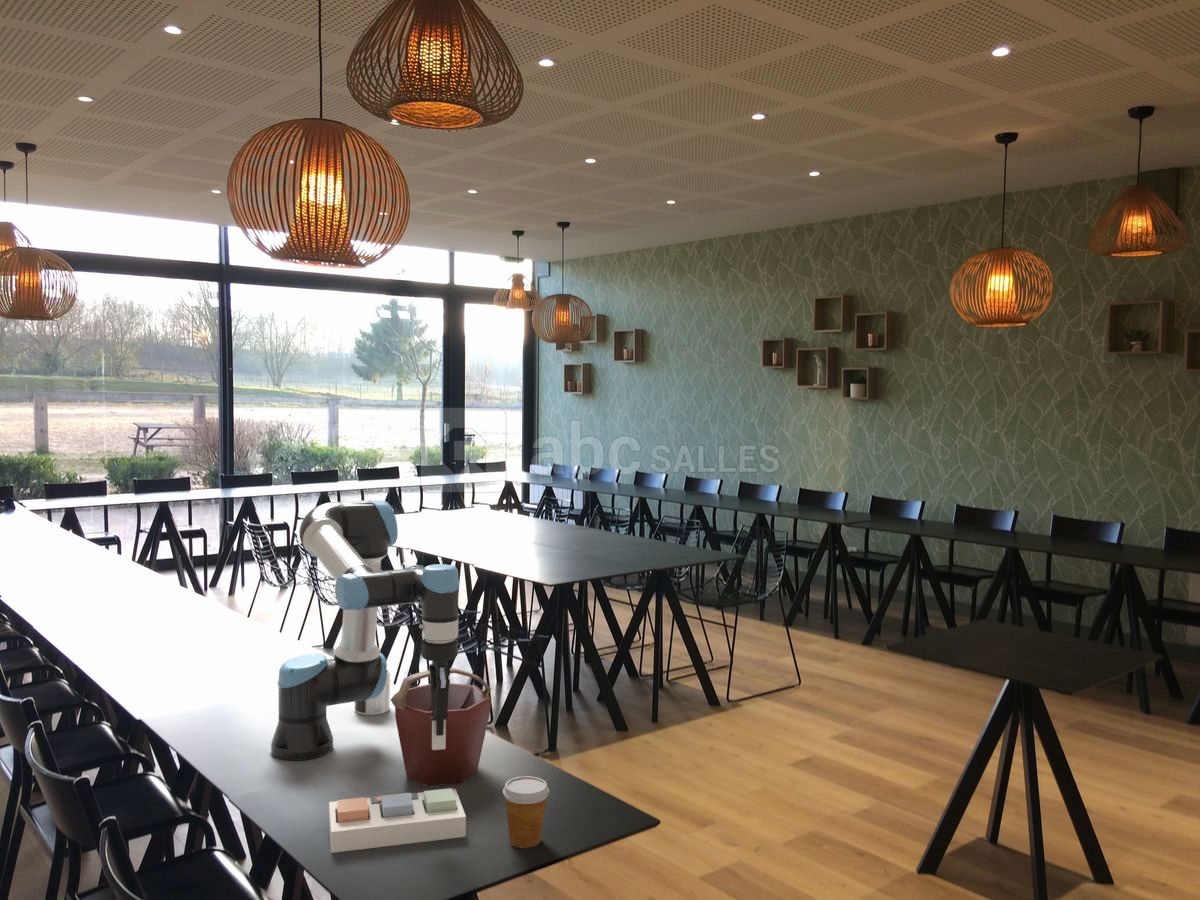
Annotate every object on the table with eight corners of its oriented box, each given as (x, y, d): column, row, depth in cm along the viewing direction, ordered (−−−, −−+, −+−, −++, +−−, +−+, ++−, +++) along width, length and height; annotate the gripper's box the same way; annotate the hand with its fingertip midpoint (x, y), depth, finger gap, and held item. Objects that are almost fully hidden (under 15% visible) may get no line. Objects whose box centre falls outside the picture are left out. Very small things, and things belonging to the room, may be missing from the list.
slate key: (380, 807, 200) (381, 795, 200) (409, 803, 202) (409, 792, 202) (383, 819, 195) (383, 807, 194) (412, 816, 196) (412, 804, 196)
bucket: (391, 794, 215) (392, 687, 214) (386, 757, 236) (387, 659, 235) (497, 785, 222) (499, 681, 220) (483, 749, 243) (485, 654, 241)
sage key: (423, 802, 203) (423, 791, 203) (451, 799, 205) (451, 788, 205) (427, 814, 197) (427, 803, 197) (455, 811, 199) (455, 799, 199)
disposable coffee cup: (548, 830, 200) (549, 775, 199) (547, 852, 190) (548, 794, 189) (503, 830, 199) (504, 775, 198) (500, 852, 190) (501, 794, 189)
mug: (396, 705, 275) (396, 667, 275) (383, 719, 263) (383, 680, 263) (361, 702, 276) (361, 666, 276) (346, 717, 264) (346, 678, 264)
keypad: (329, 821, 201) (329, 800, 201) (455, 807, 209) (455, 786, 209) (330, 852, 188) (331, 829, 188) (465, 836, 196) (466, 814, 196)
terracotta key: (337, 811, 198) (337, 800, 197) (366, 808, 199) (366, 797, 199) (338, 824, 192) (338, 812, 192) (368, 821, 194) (368, 809, 193)
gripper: (418, 632, 204) (417, 738, 205) (425, 648, 191) (424, 761, 193) (453, 630, 206) (451, 735, 207) (462, 645, 193) (460, 758, 195)
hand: (438, 748), depth 200 cm, fingers closed
